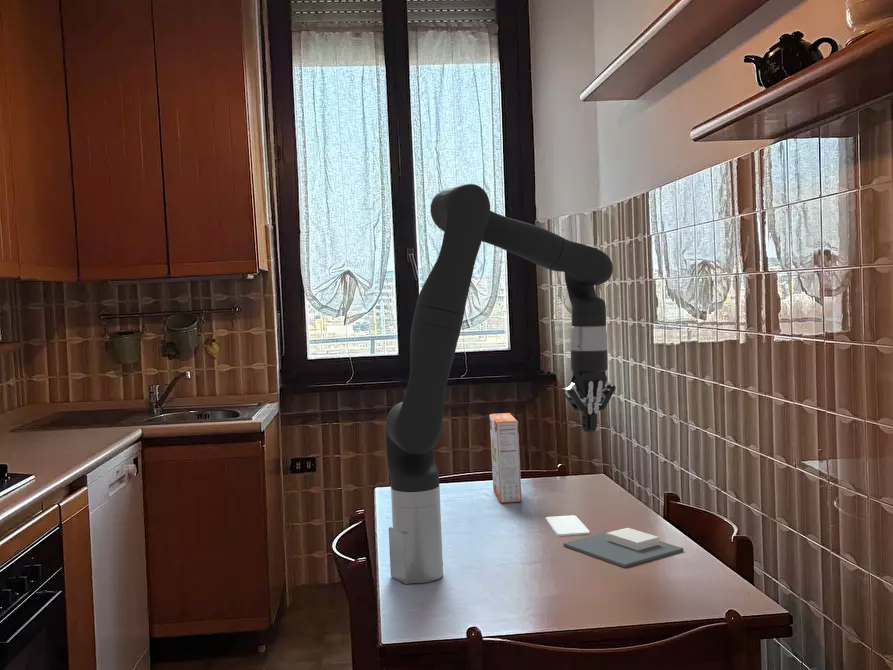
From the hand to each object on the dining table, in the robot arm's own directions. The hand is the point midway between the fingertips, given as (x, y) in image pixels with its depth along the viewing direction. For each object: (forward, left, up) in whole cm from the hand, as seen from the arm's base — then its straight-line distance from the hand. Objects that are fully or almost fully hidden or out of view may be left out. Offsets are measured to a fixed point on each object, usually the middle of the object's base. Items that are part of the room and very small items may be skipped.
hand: (589, 431), depth 178 cm
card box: (+2, -6, -22) cm, 23 cm away
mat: (+2, -6, -24) cm, 24 cm away
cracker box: (+10, +45, -24) cm, 52 cm away
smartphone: (+5, +14, -24) cm, 28 cm away
